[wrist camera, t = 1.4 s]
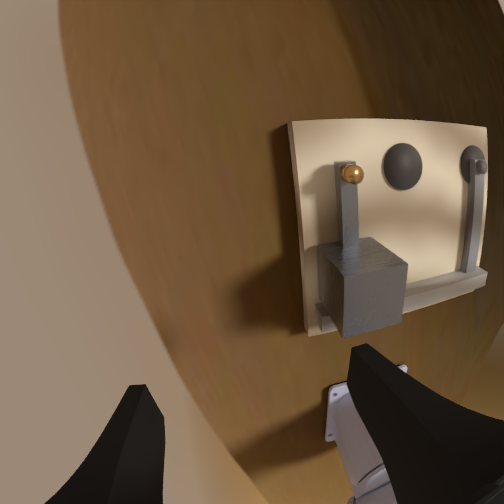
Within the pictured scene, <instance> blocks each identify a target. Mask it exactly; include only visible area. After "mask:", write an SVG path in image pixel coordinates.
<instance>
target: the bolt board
mask: <svg viewBox="0 0 504 504" xmlns="http://www.w3.org/2000/svg"><path fill="white" fill-rule="evenodd" d="M287 126H288V134H289V142H290V151H291V160H292V169H293V178H294V188H295V199H296V210H297V221H298V233H299V246H300V260H301V275H302V291H303V310H304V328H305V330H306V332H307V334H308V337H309V336H314V335H319V334H323V333H328V332H333V331H337V328H336V326H335V325H334V323H333V321H332V320H331V318H330V316H329V315H328V313H327V311H326V309H325V308H324V306H323V304H322V303H321V301H320V299H319V292H318V264H317V245H321V244H327V243H333V242H338V222H337V201H336V185H335V171H334V161H347V160H351V161H356V165H357V166H360V167H361V168H362V170H363V172H364V178H363V180H362V182H361V183H359V184H357V188H358V216H359V238H365V237H372V238H373V239H375V240H376V241H378V242H379V243H380V244H382V245H383V246H385V247H386V248H387V249H389V250H390V251H392V252H393V253H394V254H396V255H397V256H398V257H400V258H401V259H403V260H404V261H405V262H407V263H408V273H407V282H406V291H405V299H404V306H403V313H407V312H410V311H413V310H417V309H420V308H423V307H427V306H430V305H433V304H436V303H439V302H442V301H445V300H448V299H451V298H454V297H457V296H460V295H463V294H466V293H469V292H471V291H474V289H477V288H480V287H482V286H485V282H486V278H487V273H488V272H486V271H484V270H483V269H481V268H480V267H479V262H480V256H481V250H482V242H483V235H484V226H485V215H486V202H487V180H488V151H487V130H486V128H485V127H478V126H471V125H463V124H454V123H444V122H433V121H419V120H401V119H326V120H306V121H292V122H288V123H287ZM403 313H402V314H403Z"/></svg>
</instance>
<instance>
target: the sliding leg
mask: <svg viewBox="0 0 504 504" xmlns="http://www.w3.org/2000/svg"><path fill="white" fill-rule="evenodd" d="M334 171H335V185H336V201H337V222H338V242H333V243H327V244H321V245H317V264H318V292H319V299H320V301H321V303H322V304H323V306H324V308H325V309H326V311H327V313H328V315H329V316H330V318H331V320H332V321H333V323H334V325H335V326H336V328H337V330H338V332H339V333H340V335H341V337H342V338H346V337H350V336H354V335H358V334H362V333H366V332H370V331H374V330H377V329H381V328H385V327H388V326H392V325H395V324H399V323H401V319H402V313H403V306H404V299H405V291H406V282H407V273H408V263H407V262H405V261H404V260H403V259H401V258H400V257H398V256H397V255H396V254H394V253H393V252H392V251H390V250H389V249H387V248H386V247H385V246H383V245H382V244H380V243H379V242H378V241H376V240H375V239H373V238H372V237H365V238H359V216H358V188H357V184H359V183H361V182H362V180H363V178H364V172H363V170H362V168H361V167H360V166H357V165H356V161H351V160H347V161H334Z"/></svg>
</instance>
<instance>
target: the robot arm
mask: <svg viewBox="0 0 504 504" xmlns="http://www.w3.org/2000/svg"><path fill="white" fill-rule="evenodd" d="M406 372H407V366H406V365H401V366H398V367H397V366H396V365H395V364H393V363H392V362H391V361H389V360H388V359H387V358H386V357H384V356H383V355H382V354H380V353H379V352H378V351H377V350H375V349H374V348H373V347H371V346H370V345H369V344H367V343H366V344H363V345H359V346H356V347H352V349H351V356H350V364H349V371H348V377H347V382H345V383H341V384H337V385H333V386H331V387H330V388H329V393H328V407H327V420H326V431H325V440H326V441H327V442H330V441H334V440H335V442H336V445H337V447H338V450H339V453H340V456H341V458H342V461H343V464H344V467H345V470H346V472H347V475H348V478H349V480H350V481H351V483H352V484H353V485H354V486H353V487H352V491H353V494H354V496H352V497H351V498H350V499H349V500H348V502H347V504H504V421H503V420H499V419H495V418H492V417H489V416H486V415H483V414H480V413H477V412H475V411H472V410H470V409H467V408H465V407H463V406H460V405H458V404H456V403H454V402H452V401H450V400H448V399H446V398H444V397H443V396H441V395H439V394H437V393H436V392H434V391H432V390H431V389H429V388H428V387H426V386H424V385H423V384H421V383H420V382H418V381H417V380H415V379H414V378H413V377H411V376H410V375H408V374H407V373H406ZM164 456H165V426H164V416H163V415H162V413H161V411H160V410H159V408H158V406H157V404H156V403H155V401H154V399H153V397H152V395H151V394H150V392H149V390H148V388H147V386H146V385H145V384H143V385H130V386H129V387H128V389H127V390H126V392H125V394H124V396H123V397H122V399H121V401H120V403H119V405H118V406H117V408H116V410H115V412H114V413H113V415H112V417H111V419H110V420H109V422H108V424H107V426H106V427H105V429H104V431H103V432H102V434H101V436H100V437H99V439H98V440H97V442H96V443H95V445H94V446H93V448H92V449H91V451H90V452H89V454H88V456H87V457H86V458H85V460H84V461H83V462H82V464H81V465H80V467H79V468H78V469H77V470H76V471H75V473H74V474H73V475H72V476H71V477H70V479H69V480H68V481H67V482H66V483H65V484H64V485H63V486H62V487H61V489H60V490H59V491H58V492H57V493H56V494H55V495H54V496H52V497H51V498H50V499H49V500H48V501H47V502H46V503H45V504H163V492H162V491H163V472H164Z"/></svg>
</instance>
